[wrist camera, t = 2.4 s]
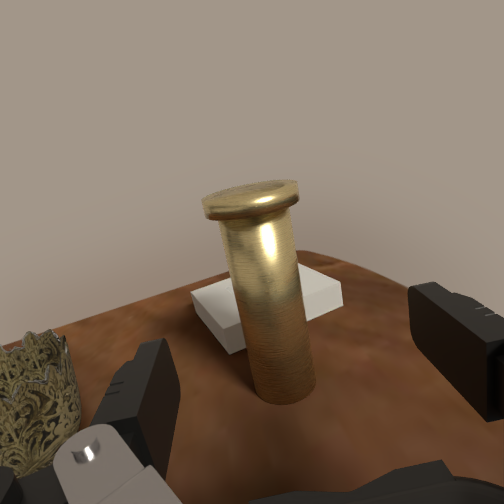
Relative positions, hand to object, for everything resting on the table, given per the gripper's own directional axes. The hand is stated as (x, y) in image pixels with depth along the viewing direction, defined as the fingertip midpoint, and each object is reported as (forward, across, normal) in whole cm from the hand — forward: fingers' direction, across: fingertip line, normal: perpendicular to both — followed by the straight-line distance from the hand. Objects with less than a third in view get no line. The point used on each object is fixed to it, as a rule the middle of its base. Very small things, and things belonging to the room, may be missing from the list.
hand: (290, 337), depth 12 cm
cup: (+8, +16, +11) cm, 21 cm away
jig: (+23, 0, +10) cm, 26 cm away
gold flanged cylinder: (+12, 0, +11) cm, 16 cm away
